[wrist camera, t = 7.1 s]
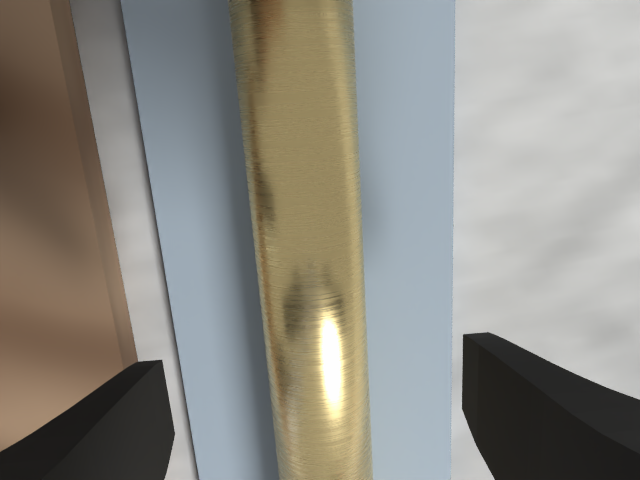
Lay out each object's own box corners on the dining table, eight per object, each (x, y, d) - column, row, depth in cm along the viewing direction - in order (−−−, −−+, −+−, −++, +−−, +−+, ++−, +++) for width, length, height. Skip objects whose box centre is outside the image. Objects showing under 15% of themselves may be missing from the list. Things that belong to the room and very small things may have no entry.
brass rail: (371, 567, 19) (386, 650, 16) (293, 576, 19) (295, 662, 16) (340, -85, 13) (356, -138, 10) (224, -79, 13) (206, -132, 10)
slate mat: (446, 608, 20) (449, 617, 20) (227, 629, 20) (225, 639, 20) (452, -225, 12) (457, -235, 12) (91, -206, 12) (84, -216, 12)
